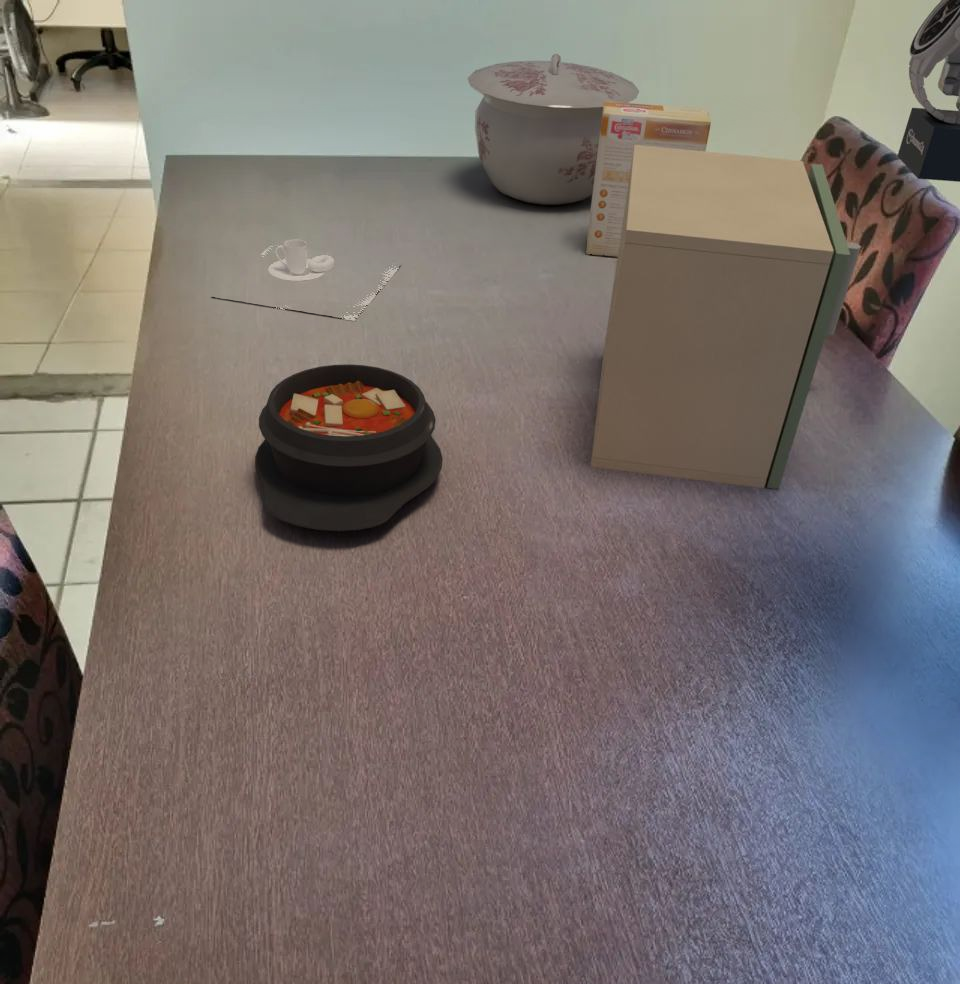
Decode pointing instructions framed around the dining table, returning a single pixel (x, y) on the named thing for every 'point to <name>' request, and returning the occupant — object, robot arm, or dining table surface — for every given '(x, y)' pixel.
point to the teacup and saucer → (318, 266)
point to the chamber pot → (543, 126)
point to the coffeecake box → (615, 154)
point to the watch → (930, 132)
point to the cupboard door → (817, 318)
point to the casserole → (345, 447)
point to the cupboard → (708, 314)
